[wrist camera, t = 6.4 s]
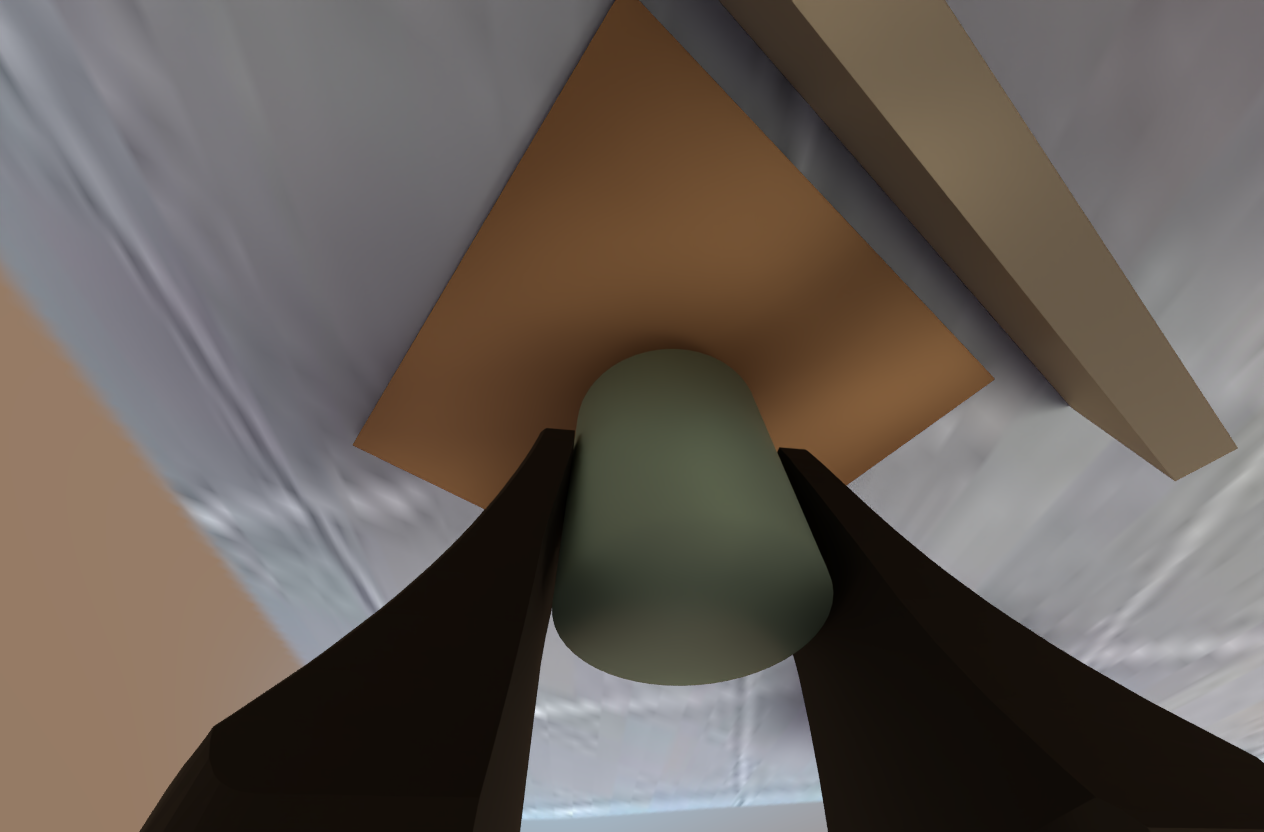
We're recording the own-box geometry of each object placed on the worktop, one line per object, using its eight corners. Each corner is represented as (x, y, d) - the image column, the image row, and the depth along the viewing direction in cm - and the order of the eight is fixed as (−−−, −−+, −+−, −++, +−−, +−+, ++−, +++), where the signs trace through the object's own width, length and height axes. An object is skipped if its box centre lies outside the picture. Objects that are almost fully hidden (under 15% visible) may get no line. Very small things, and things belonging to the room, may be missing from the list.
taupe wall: (1117, 377, 13) (1237, 448, 10) (1070, 407, 13) (1174, 481, 11) (540, -381, 6) (483, -706, 4) (493, -260, 7) (415, -471, 4)
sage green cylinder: (788, 375, 11) (891, 549, 7) (716, 508, 13) (760, 698, 9) (601, 327, 10) (588, 489, 6) (561, 477, 12) (531, 668, 8)
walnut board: (985, 371, 12) (995, 379, 12) (679, 594, 18) (680, 603, 17) (624, -11, 8) (624, -16, 8) (359, 436, 13) (352, 445, 13)
